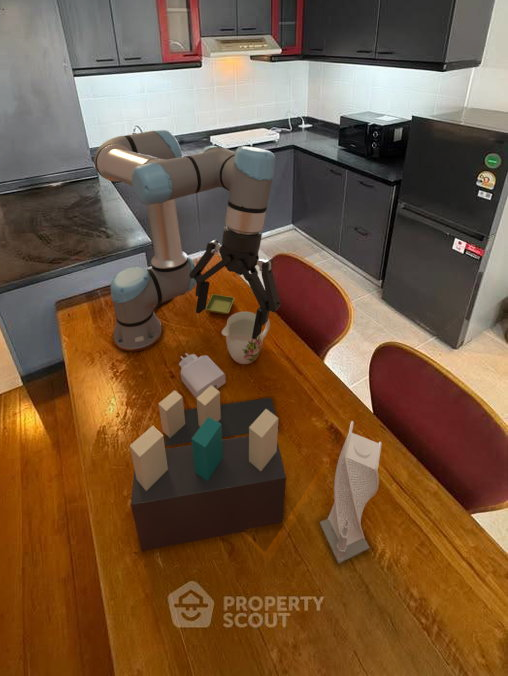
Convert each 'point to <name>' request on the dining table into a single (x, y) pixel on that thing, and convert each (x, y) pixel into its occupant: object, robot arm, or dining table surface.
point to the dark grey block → (208, 415)
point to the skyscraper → (352, 495)
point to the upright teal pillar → (207, 448)
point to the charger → (200, 374)
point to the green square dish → (220, 304)
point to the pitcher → (243, 337)
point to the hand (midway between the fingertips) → (227, 322)
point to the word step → (207, 487)
